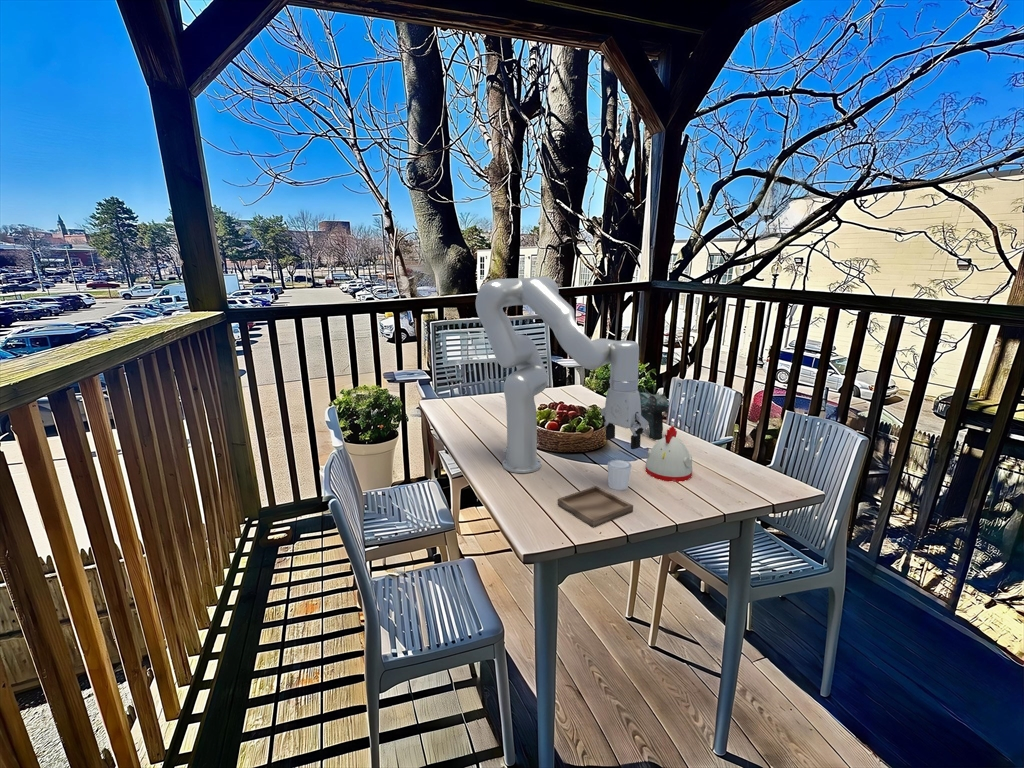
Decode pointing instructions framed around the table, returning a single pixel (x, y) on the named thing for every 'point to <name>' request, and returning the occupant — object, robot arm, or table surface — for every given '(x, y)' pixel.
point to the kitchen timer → (669, 459)
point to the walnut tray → (595, 506)
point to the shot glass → (618, 474)
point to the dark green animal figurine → (653, 412)
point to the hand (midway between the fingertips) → (622, 443)
